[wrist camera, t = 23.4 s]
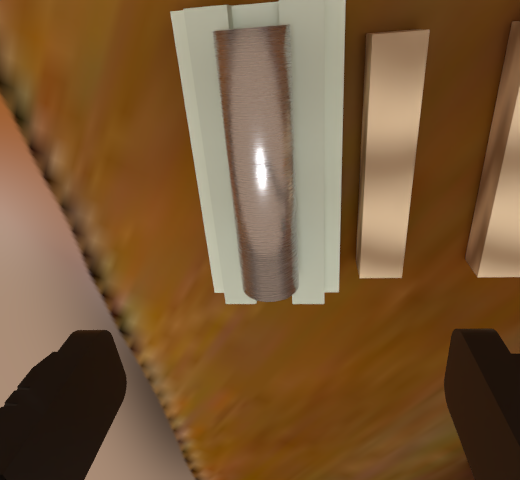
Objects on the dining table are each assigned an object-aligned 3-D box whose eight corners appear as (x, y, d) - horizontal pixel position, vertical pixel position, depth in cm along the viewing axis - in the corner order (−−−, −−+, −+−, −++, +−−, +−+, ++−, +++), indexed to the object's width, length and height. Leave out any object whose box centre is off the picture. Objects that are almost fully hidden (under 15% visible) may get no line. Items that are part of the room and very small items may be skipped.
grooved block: (337, 281, 32) (340, 303, 30) (218, 282, 34) (211, 303, 31) (343, -4, 23) (348, -7, 20) (177, 12, 24) (161, 10, 22)
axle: (301, 270, 29) (295, 303, 26) (249, 268, 30) (236, 300, 27) (294, 24, 22) (284, 24, 18) (224, 30, 22) (202, 31, 19)
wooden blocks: (506, 258, 30) (522, 276, 28) (355, 260, 31) (359, 278, 29) (568, 17, 22) (597, 16, 20) (366, 33, 24) (372, 34, 22)
